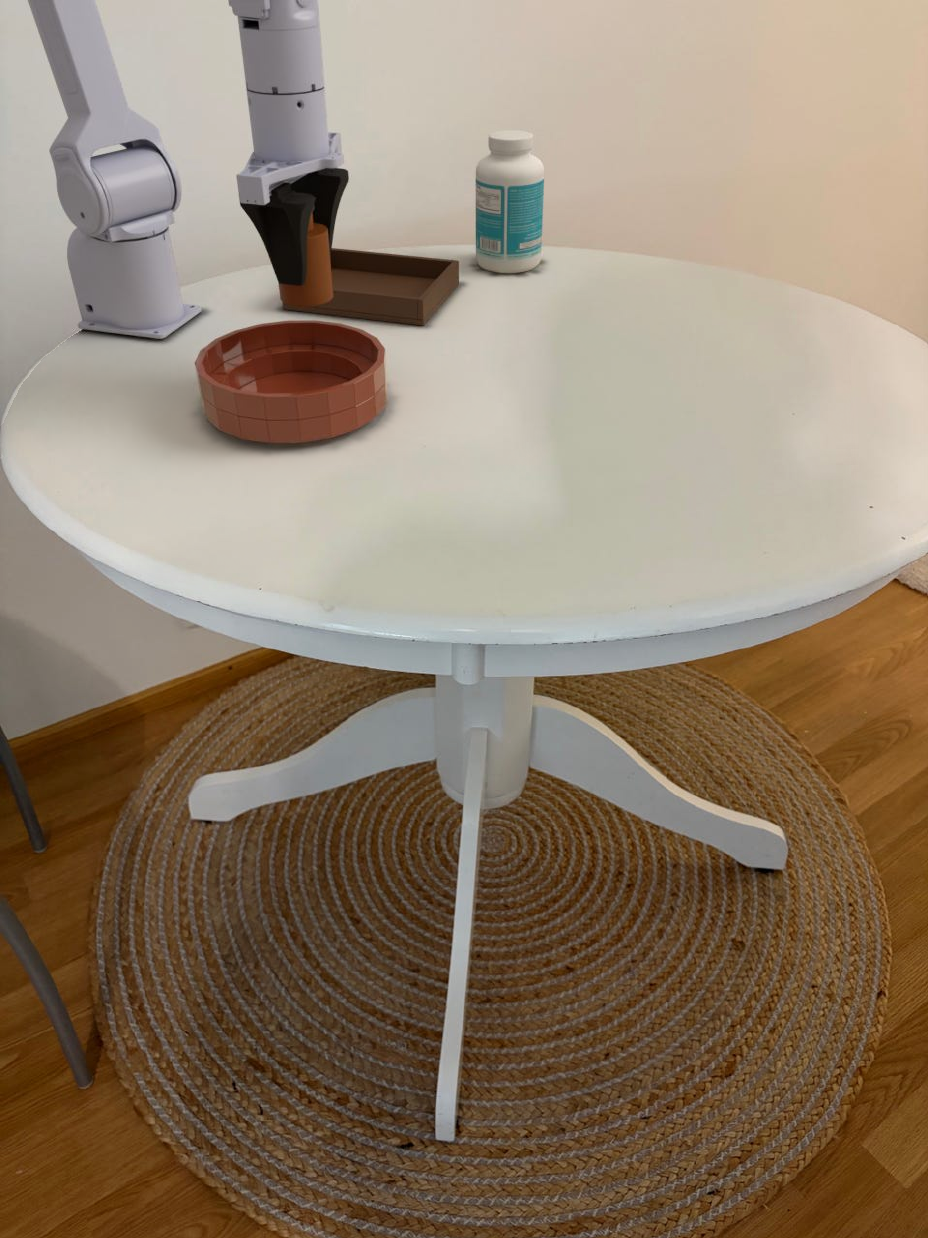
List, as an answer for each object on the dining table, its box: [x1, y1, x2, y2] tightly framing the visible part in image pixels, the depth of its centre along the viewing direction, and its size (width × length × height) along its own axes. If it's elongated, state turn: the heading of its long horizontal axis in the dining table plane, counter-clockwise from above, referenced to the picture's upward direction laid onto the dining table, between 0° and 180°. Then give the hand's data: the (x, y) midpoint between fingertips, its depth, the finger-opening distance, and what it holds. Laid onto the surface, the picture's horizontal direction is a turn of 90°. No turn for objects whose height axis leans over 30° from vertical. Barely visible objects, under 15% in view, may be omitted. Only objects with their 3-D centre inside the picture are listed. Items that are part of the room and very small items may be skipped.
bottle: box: [277, 193, 333, 307], centre depth 77 cm, size 4×4×8 cm
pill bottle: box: [475, 129, 545, 274], centre depth 104 cm, size 8×7×14 cm
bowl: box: [194, 319, 388, 444], centre depth 79 cm, size 15×15×4 cm
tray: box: [281, 247, 460, 327], centre depth 100 cm, size 15×12×3 cm
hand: (304, 273), depth 79 cm, fingers closed on bottle, 4 cm apart
